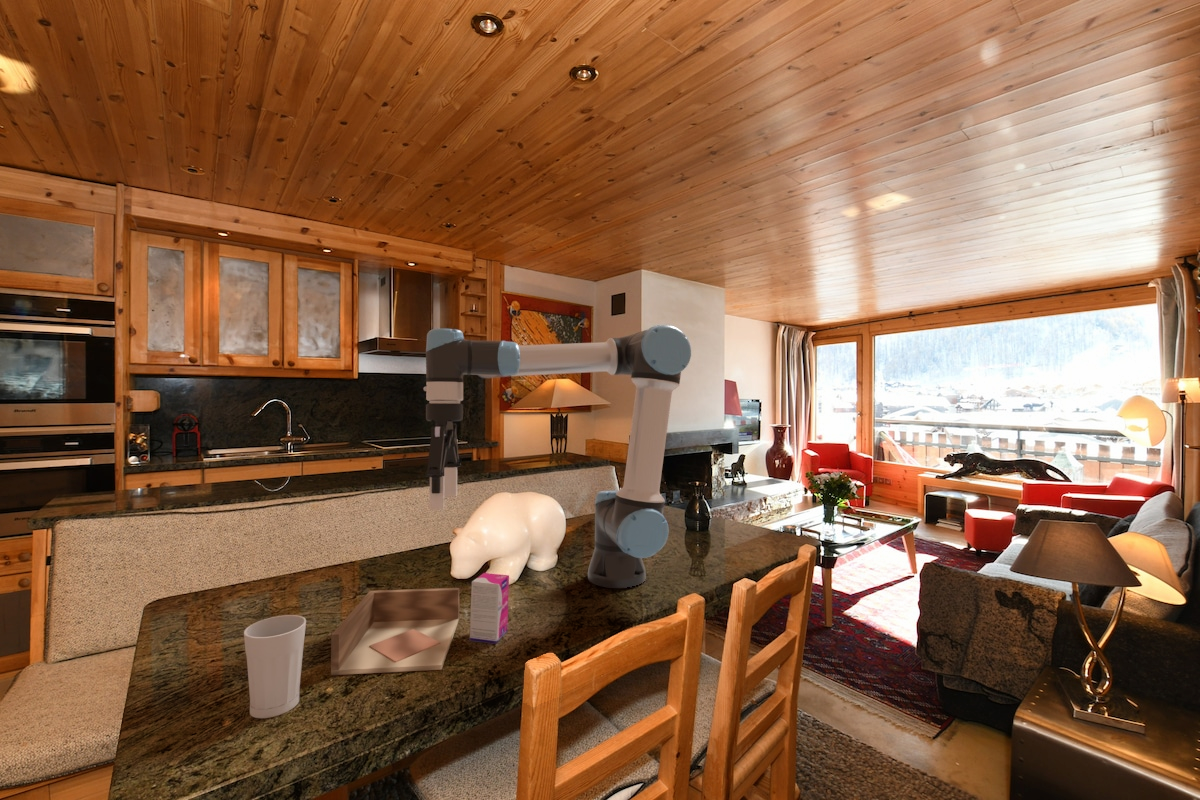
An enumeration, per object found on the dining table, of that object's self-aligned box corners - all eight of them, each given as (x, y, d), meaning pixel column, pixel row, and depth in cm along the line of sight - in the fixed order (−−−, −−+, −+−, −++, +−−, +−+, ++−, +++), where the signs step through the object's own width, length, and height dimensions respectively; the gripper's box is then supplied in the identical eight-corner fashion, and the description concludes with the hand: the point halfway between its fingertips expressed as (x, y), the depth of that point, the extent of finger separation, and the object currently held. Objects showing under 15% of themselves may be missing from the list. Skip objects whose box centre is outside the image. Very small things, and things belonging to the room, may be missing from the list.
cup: (228, 718, 74) (229, 635, 74) (272, 688, 82) (273, 613, 82) (277, 724, 73) (278, 640, 73) (317, 693, 81) (318, 616, 81)
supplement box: (497, 644, 98) (498, 584, 98) (468, 641, 99) (469, 581, 99) (509, 631, 103) (509, 574, 103) (481, 628, 105) (482, 571, 105)
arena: (459, 620, 108) (459, 587, 108) (441, 669, 88) (441, 630, 88) (369, 623, 106) (369, 590, 106) (330, 675, 86) (331, 634, 86)
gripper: (439, 402, 121) (439, 492, 121) (410, 402, 96) (409, 515, 96) (472, 402, 122) (471, 491, 122) (450, 402, 97) (450, 515, 97)
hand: (444, 502), depth 109 cm, fingers open, 13 cm apart
